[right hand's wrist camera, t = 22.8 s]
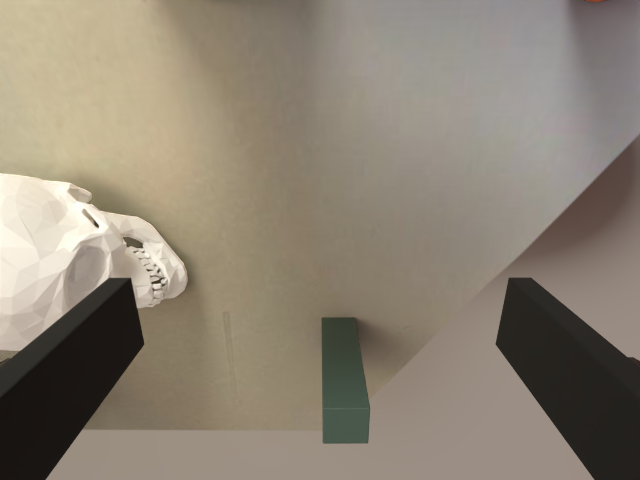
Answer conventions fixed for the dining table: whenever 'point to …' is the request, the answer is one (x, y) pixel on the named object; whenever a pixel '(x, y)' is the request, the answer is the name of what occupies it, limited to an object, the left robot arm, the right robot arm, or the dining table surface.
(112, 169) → the dining table surface
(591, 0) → the cup with straw
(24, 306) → the skull
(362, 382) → the peg
